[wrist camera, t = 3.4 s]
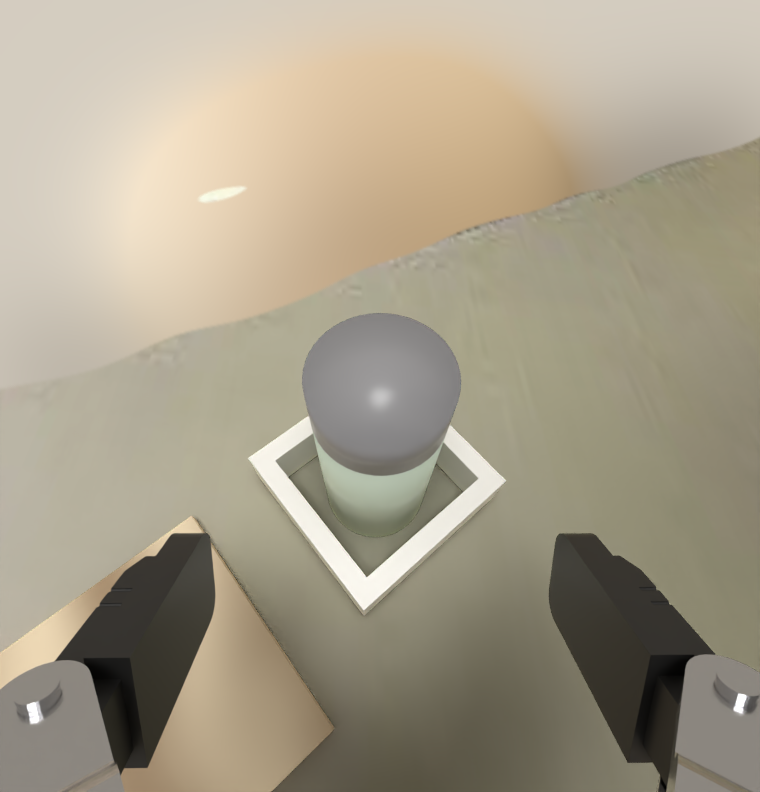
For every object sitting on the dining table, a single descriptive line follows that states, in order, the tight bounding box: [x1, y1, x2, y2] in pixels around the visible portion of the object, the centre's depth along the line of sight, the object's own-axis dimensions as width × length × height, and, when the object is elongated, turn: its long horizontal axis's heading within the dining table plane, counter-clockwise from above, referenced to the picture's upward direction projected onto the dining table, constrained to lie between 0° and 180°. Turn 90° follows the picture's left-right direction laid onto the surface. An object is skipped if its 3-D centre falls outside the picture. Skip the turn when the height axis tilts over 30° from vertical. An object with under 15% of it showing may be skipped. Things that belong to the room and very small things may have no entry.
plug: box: [302, 313, 461, 537], centre depth 18 cm, size 4×4×10 cm
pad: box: [0, 516, 334, 792], centre depth 17 cm, size 10×10×1 cm
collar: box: [248, 416, 506, 616], centre depth 21 cm, size 8×8×2 cm
